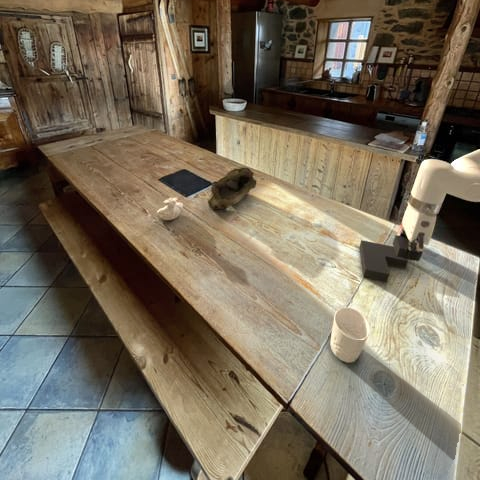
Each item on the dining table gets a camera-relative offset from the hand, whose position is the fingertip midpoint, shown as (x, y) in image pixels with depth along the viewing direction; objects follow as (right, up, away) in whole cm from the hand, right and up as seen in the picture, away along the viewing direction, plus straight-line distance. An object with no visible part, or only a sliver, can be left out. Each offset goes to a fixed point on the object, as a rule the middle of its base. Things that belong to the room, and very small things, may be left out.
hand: (406, 250), depth 82 cm
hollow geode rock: (-54, +9, +44) cm, 70 cm away
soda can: (+11, -4, +18) cm, 22 cm away
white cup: (-25, -19, -15) cm, 35 cm away
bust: (-80, +3, +31) cm, 86 cm away
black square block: (0, -1, 0) cm, 1 cm away
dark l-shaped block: (-2, -8, +9) cm, 12 cm away
